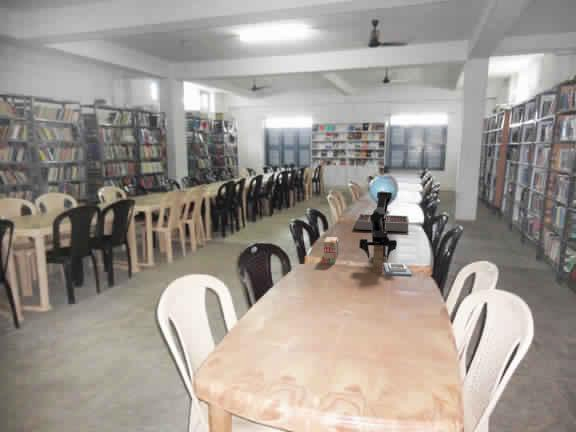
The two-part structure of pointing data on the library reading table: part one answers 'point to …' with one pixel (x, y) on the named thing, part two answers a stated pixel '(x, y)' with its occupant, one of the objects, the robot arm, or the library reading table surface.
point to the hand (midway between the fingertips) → (378, 258)
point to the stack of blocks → (331, 249)
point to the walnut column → (378, 258)
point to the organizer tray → (391, 223)
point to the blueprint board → (397, 269)
